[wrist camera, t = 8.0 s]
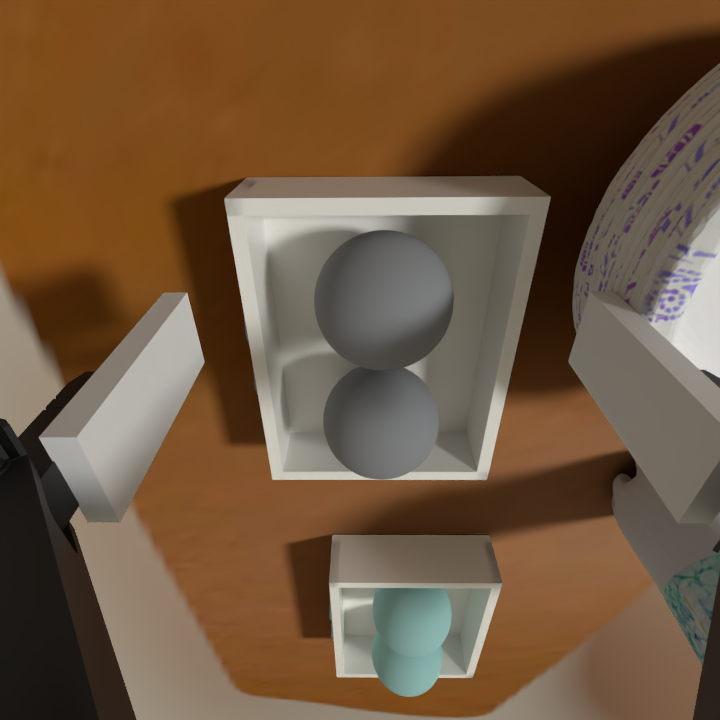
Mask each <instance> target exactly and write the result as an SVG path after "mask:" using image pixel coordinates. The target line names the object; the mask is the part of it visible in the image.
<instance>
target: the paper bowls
mask: <svg viewBox="0 0 720 720" xmlns="http://www.w3.org/2000/svg"><path fill="white" fill-rule="evenodd" d="M590 291H614V292H615V293H617V294H618V295H619V296H620V297H621V298H622V299H623V300H624V301H625V302H626V303H627V304H629V305H630V306H631V307H632V308H633V309H634V310H635V311H636V312H637V313H638V314H639V315H641V316H642V317H643V318H644V319H645V320H646V321H647V322H648V323H649V324H650V325H651V326H653V327H654V328H655V329H656V330H657V331H658V332H659V333H660V334H661V335H662V336H663V337H664V338H666V339H667V340H668V341H669V342H670V343H671V344H672V345H673V346H674V347H675V348H676V349H678V350H679V351H680V352H681V353H682V354H683V355H684V356H685V357H686V358H687V359H688V360H690V361H691V362H692V363H693V364H694V365H695V366H696V367H697V368H698V369H699V370H706V371H708V372H710V373H712V374H713V375H715V376H717V377H719V378H720V63H719V64H718V65H717V66H716V67H715V68H713V69H712V70H711V71H710V72H708V73H707V74H706V75H705V76H704V77H702V78H701V79H700V80H699V81H698V82H697V83H696V84H695V85H694V86H692V87H691V88H690V89H689V90H688V91H687V92H686V93H685V94H684V95H683V96H682V97H681V98H680V99H679V100H678V101H677V102H676V103H675V104H674V105H673V106H672V107H671V108H670V109H669V110H668V111H667V112H666V113H665V114H664V115H663V116H662V117H661V118H660V120H659V121H658V122H657V123H656V124H655V125H654V126H653V127H652V129H651V130H650V131H649V132H648V133H647V135H646V136H645V137H644V138H643V139H642V141H641V142H640V144H639V145H638V146H637V148H636V149H635V150H634V151H633V152H632V154H631V155H630V156H629V158H628V159H627V160H626V161H625V163H624V164H623V165H622V167H621V168H620V170H619V171H618V173H617V174H616V176H615V177H614V179H613V180H612V181H611V183H610V185H609V187H608V188H607V190H606V192H605V194H604V196H603V198H602V200H601V203H600V205H599V206H598V208H597V210H596V213H595V215H594V218H593V221H592V223H591V225H590V227H589V229H588V232H587V235H586V237H585V240H584V243H583V245H582V248H581V251H580V255H579V258H578V262H577V265H576V269H575V276H574V289H573V301H572V310H573V320H574V326H575V329H576V334H577V332H578V328H579V325H580V322H581V319H582V316H583V313H584V310H585V306H586V303H587V300H588V297H589V294H590Z"/></svg>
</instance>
